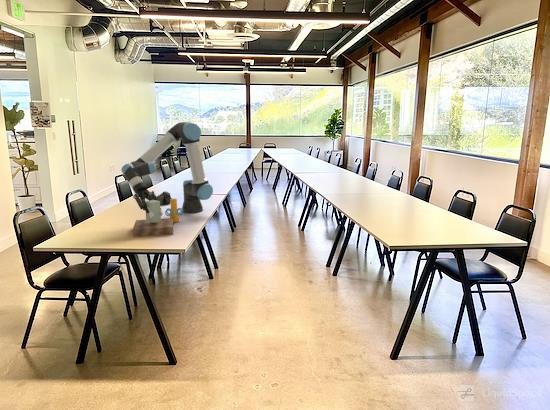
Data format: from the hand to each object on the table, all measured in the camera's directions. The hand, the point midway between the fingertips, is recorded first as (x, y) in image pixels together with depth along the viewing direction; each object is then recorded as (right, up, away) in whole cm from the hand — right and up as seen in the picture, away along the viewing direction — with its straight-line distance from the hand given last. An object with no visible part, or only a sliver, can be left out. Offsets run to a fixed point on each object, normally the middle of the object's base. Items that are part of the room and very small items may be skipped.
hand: (157, 215), depth 226 cm
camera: (-19, +7, +82) cm, 84 cm away
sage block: (-3, -3, +3) cm, 5 cm away
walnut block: (-3, -10, +4) cm, 11 cm away
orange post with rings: (+3, -5, +26) cm, 27 cm away
